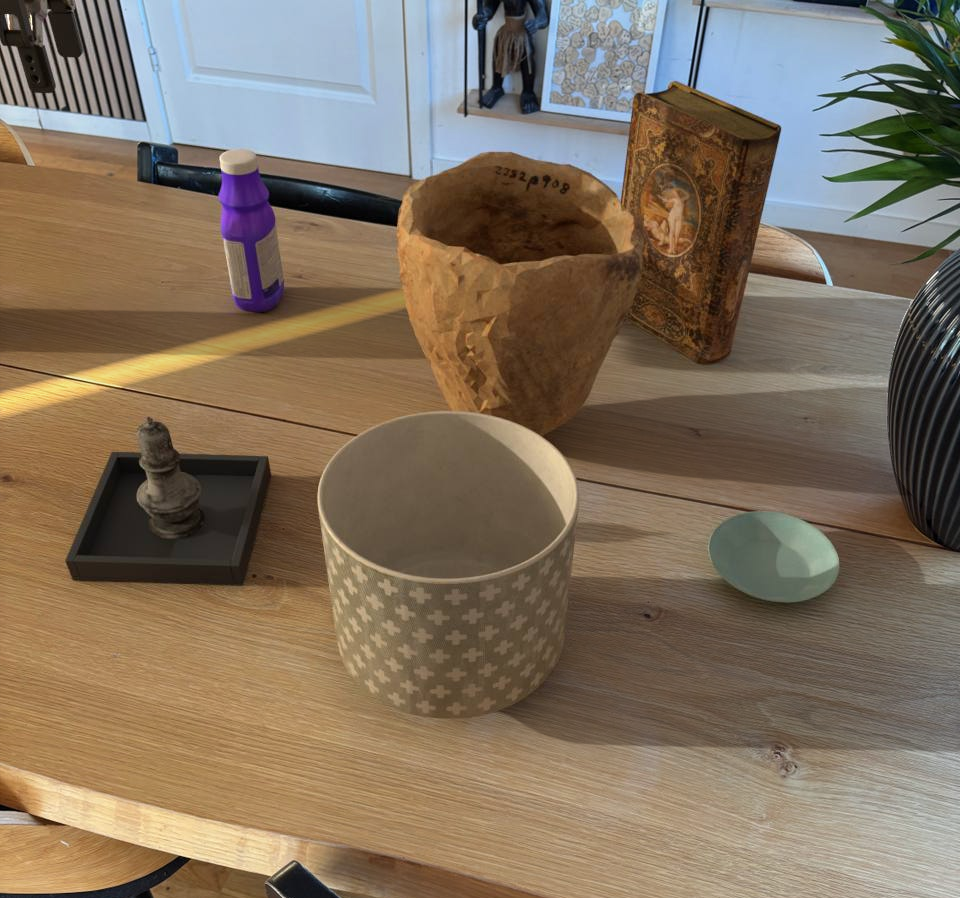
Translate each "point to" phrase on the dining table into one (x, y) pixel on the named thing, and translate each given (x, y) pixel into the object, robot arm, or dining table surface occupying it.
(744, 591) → the saucer
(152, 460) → the chess piece
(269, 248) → the bottle
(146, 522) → the tray
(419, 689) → the planter
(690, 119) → the book
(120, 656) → the dining table surface
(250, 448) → the dining table surface
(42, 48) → the robot arm
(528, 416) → the tan textured vessel
